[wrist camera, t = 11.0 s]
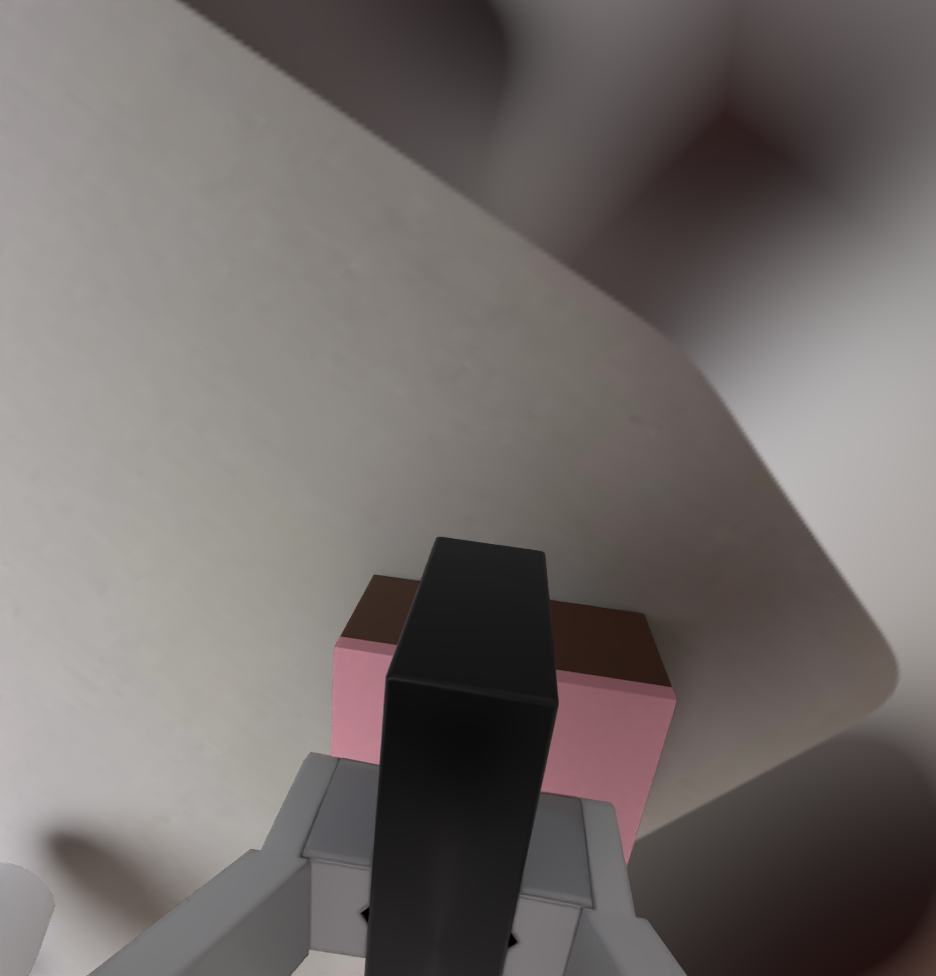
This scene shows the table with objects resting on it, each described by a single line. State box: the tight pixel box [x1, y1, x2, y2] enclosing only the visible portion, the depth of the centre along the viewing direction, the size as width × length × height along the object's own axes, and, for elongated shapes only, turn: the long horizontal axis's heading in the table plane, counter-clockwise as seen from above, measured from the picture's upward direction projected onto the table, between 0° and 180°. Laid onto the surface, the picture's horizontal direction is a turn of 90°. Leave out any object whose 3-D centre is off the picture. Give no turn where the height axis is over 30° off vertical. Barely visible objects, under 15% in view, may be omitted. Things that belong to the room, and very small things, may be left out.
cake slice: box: [331, 575, 420, 765], centre depth 24 cm, size 10×4×6 cm, turn 174°
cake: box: [541, 601, 677, 867], centre depth 23 cm, size 10×6×6 cm, turn 174°
